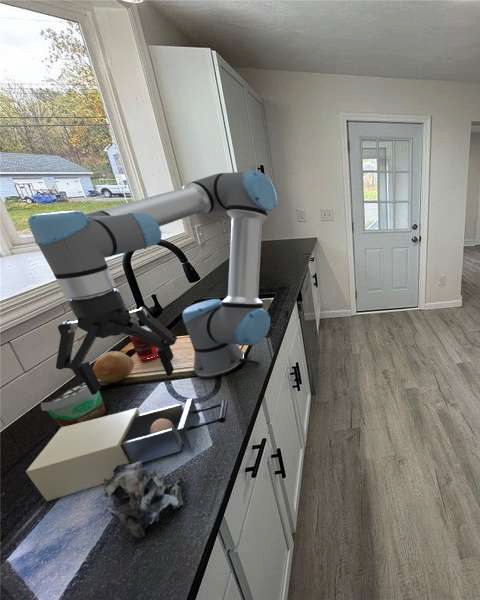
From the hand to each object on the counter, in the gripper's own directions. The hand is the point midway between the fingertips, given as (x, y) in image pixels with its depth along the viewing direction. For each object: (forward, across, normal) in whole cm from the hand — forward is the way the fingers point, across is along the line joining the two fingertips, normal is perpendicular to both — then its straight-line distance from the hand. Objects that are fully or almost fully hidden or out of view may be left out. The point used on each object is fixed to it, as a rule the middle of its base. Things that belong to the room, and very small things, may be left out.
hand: (135, 381), depth 70 cm
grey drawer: (+18, -4, +1) cm, 18 cm away
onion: (+19, +21, -40) cm, 49 cm away
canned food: (+19, +15, -53) cm, 59 cm away
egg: (+17, -1, +1) cm, 17 cm away
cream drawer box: (+18, +12, +1) cm, 22 cm away
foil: (+19, -1, +18) cm, 26 cm away
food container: (+19, +22, -20) cm, 35 cm away
